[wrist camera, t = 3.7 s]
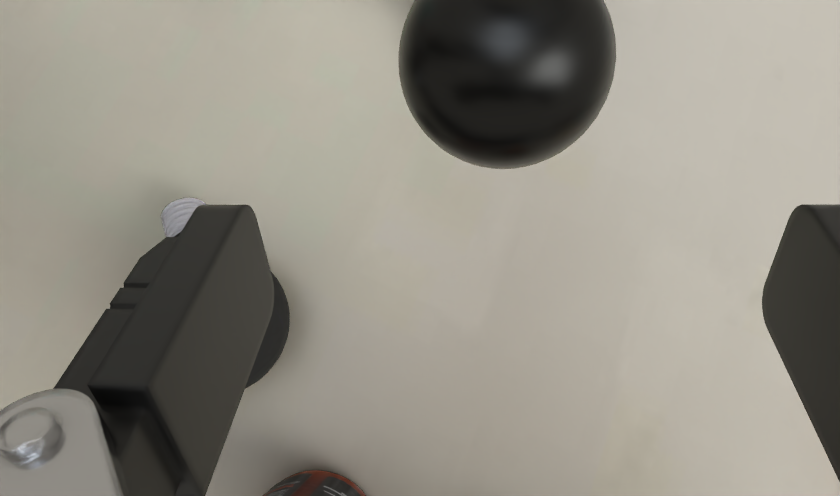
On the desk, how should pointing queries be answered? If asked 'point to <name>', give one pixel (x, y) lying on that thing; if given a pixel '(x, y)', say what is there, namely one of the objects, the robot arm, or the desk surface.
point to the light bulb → (278, 326)
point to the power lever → (506, 75)
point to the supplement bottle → (315, 485)
